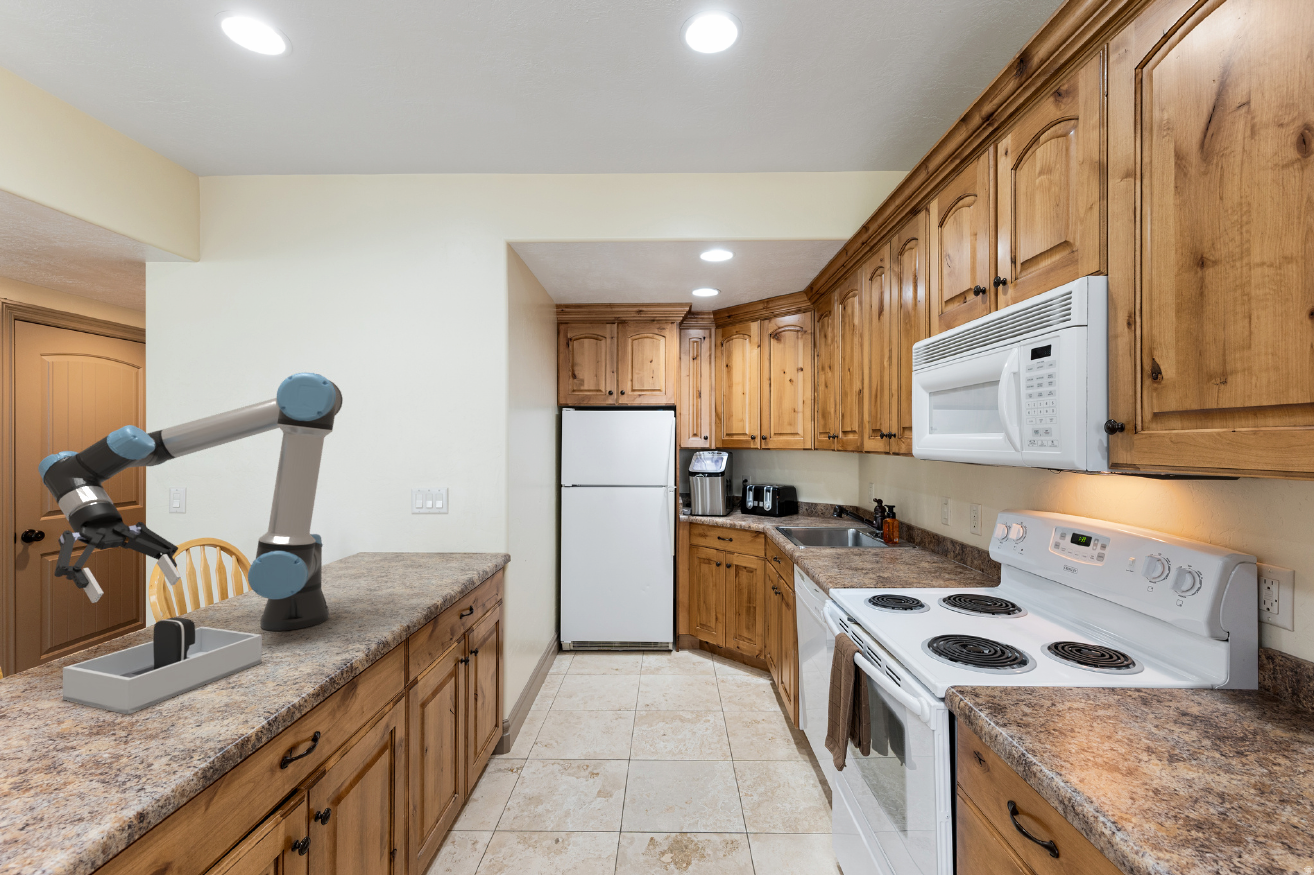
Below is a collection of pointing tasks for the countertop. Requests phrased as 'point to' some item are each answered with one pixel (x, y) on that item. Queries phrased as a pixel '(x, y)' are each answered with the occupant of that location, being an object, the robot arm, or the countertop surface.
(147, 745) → the countertop surface
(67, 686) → the bin
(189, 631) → the battery charger
